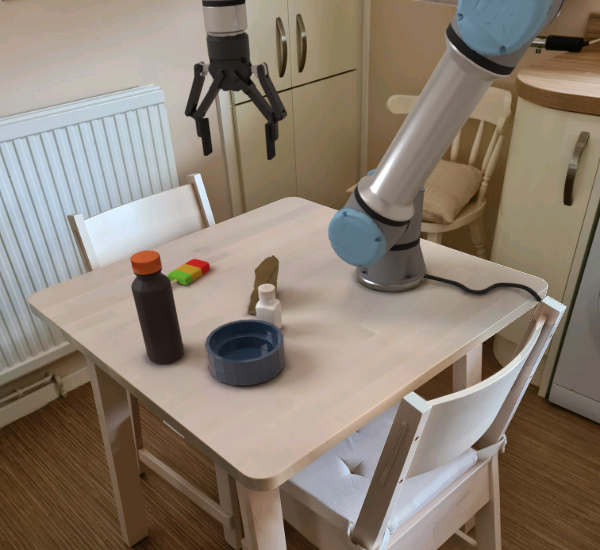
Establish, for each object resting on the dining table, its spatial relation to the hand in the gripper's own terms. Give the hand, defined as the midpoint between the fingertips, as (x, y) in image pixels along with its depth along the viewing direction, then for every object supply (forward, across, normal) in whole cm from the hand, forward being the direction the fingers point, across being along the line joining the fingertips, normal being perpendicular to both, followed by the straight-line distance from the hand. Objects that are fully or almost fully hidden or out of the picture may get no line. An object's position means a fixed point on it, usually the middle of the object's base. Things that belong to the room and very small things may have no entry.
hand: (239, 156), depth 122 cm
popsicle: (+27, +15, +5) cm, 31 cm away
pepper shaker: (+27, -12, +20) cm, 36 cm away
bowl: (+27, -12, +32) cm, 43 cm away
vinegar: (+27, +4, +33) cm, 43 cm away
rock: (+27, -6, +10) cm, 29 cm away
